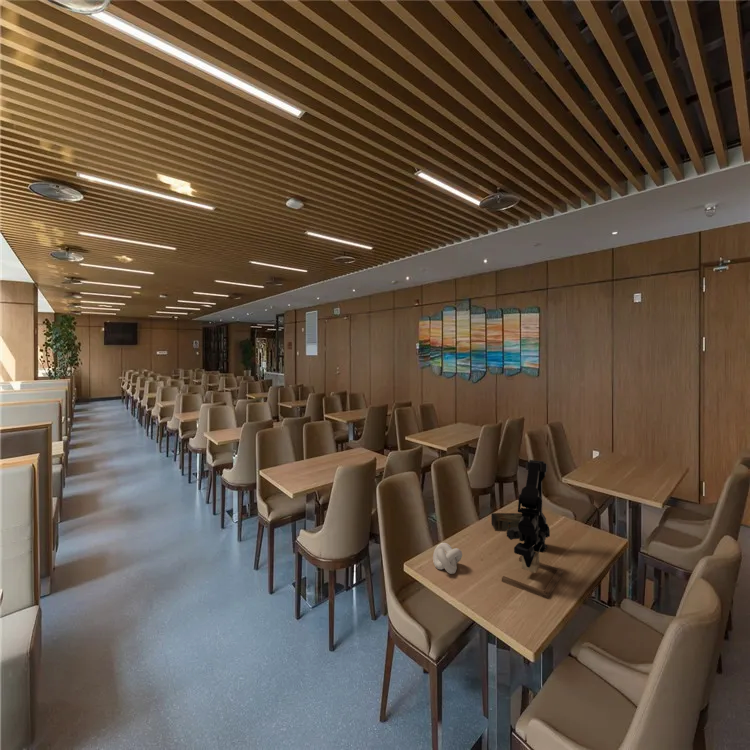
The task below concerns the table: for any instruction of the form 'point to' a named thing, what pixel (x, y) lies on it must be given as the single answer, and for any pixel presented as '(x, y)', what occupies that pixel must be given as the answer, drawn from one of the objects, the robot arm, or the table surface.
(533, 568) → the oak block
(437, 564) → the white decorative knot
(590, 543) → the table surface
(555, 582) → the bay
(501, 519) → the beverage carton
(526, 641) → the table surface
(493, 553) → the table surface
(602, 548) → the table surface
